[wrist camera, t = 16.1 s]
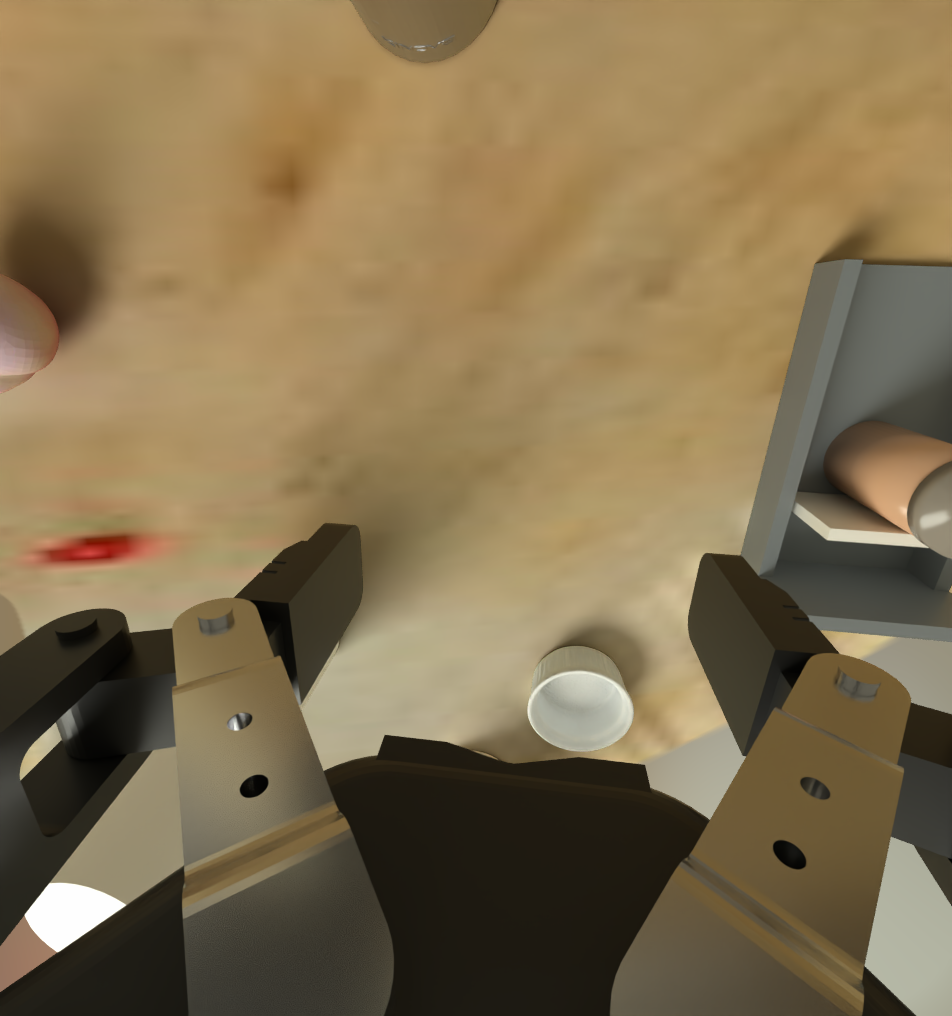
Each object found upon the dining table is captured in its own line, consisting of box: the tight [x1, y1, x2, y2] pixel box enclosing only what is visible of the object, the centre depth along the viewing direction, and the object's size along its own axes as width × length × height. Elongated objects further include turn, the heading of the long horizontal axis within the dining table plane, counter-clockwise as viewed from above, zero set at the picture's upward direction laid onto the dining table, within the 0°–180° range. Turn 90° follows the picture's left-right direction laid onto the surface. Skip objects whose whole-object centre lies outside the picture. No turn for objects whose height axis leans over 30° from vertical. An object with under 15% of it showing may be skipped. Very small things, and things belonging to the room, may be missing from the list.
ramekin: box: [527, 646, 634, 752], centre depth 45 cm, size 9×9×4 cm
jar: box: [823, 421, 952, 559], centre depth 32 cm, size 6×6×11 cm
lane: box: [741, 259, 952, 642], centre depth 33 cm, size 22×13×8 cm, turn 178°
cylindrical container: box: [25, 642, 339, 952], centre depth 37 cm, size 7×7×25 cm
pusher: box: [792, 492, 929, 548], centre depth 35 cm, size 1×10×7 cm, turn 88°
